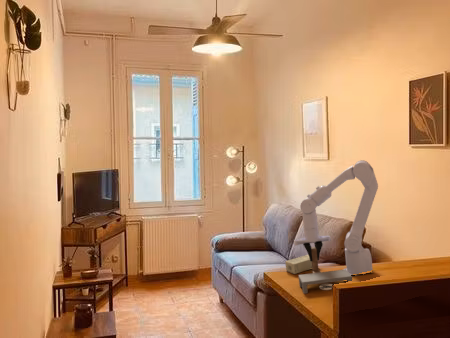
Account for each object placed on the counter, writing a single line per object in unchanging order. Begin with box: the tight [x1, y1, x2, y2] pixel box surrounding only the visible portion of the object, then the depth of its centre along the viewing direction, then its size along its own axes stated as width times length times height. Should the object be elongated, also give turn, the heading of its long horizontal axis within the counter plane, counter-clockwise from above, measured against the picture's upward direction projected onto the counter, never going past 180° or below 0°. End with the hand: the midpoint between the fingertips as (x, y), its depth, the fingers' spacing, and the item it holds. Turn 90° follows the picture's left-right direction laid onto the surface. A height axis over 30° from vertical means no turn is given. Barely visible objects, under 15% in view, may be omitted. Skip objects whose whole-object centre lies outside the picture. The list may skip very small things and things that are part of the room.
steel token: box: [319, 282, 333, 291], centre depth 159 cm, size 5×5×1 cm
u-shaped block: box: [298, 268, 353, 294], centre depth 160 cm, size 18×8×4 cm, turn 90°
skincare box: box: [284, 254, 312, 275], centre depth 182 cm, size 6×4×12 cm
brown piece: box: [311, 246, 321, 273], centre depth 171 cm, size 6×12×10 cm, turn 0°
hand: (314, 260), depth 176 cm, fingers closed on brown piece
